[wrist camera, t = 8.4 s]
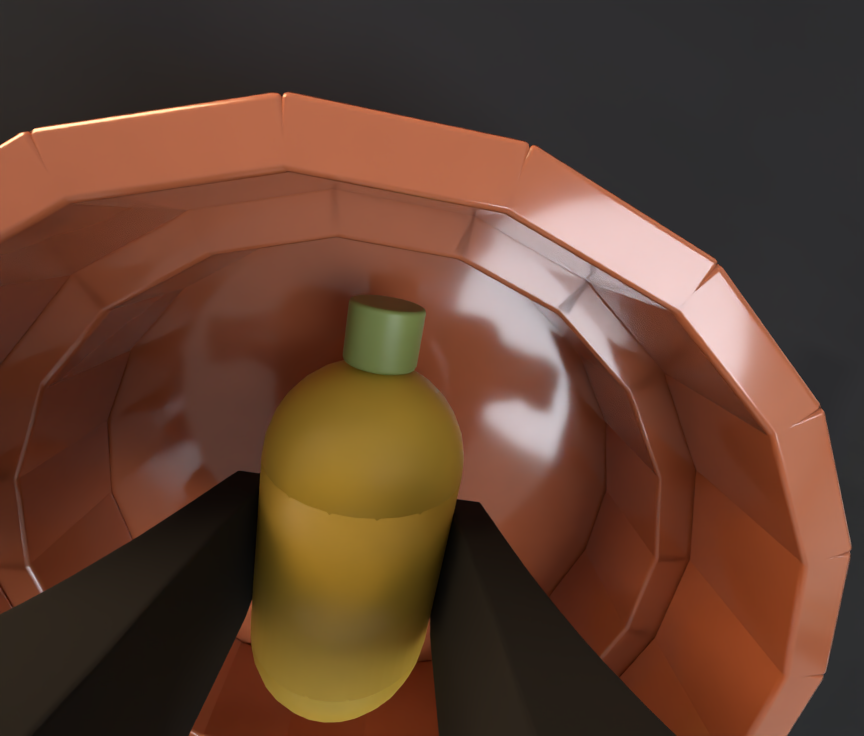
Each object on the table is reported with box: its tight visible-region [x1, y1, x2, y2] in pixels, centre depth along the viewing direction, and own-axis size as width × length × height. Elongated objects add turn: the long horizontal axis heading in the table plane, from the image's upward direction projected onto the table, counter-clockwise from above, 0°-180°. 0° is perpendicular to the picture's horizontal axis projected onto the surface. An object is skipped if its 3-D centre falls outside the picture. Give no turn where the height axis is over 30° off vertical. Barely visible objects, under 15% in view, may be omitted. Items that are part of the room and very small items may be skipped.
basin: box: [0, 92, 852, 736], centre depth 8 cm, size 13×13×5 cm
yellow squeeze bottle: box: [251, 295, 464, 723], centre depth 8 cm, size 8×3×3 cm, turn 170°
